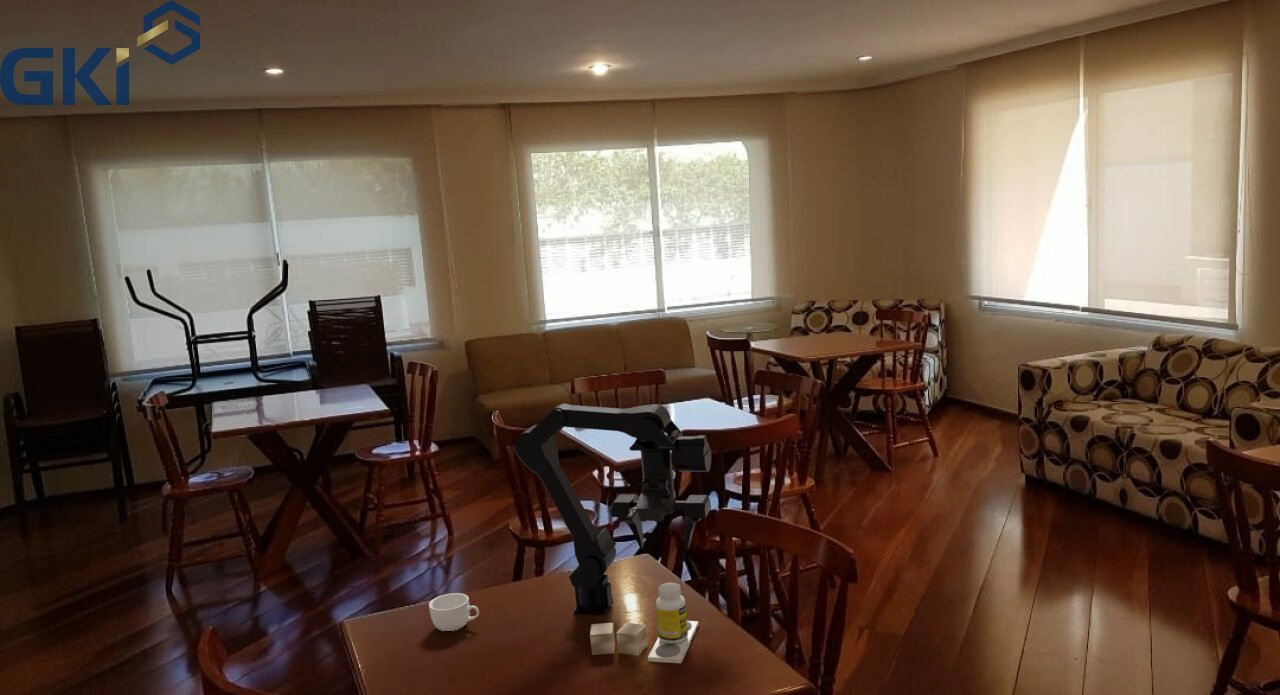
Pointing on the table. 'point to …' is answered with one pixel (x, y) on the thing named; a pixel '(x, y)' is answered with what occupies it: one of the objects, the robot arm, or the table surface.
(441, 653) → the table surface
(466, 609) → the teacup
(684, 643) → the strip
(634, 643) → the beech block
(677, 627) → the supplement bottle
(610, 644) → the beech block
